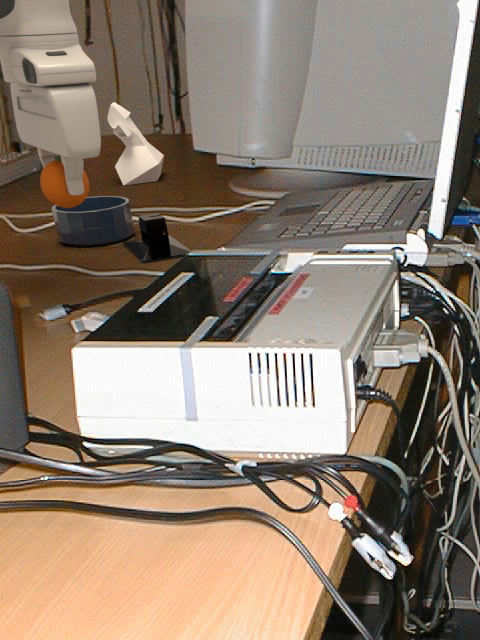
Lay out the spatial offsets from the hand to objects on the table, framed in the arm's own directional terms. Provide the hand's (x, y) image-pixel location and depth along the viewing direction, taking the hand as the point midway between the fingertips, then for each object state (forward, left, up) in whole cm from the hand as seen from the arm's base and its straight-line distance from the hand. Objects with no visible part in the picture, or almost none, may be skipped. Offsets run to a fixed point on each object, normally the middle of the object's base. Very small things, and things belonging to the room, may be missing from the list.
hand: (66, 190), depth 110 cm
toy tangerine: (0, 0, +1) cm, 1 cm away
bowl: (+10, +22, -11) cm, 26 cm away
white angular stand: (+34, +63, -12) cm, 72 cm away
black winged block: (+14, +9, -12) cm, 20 cm away
